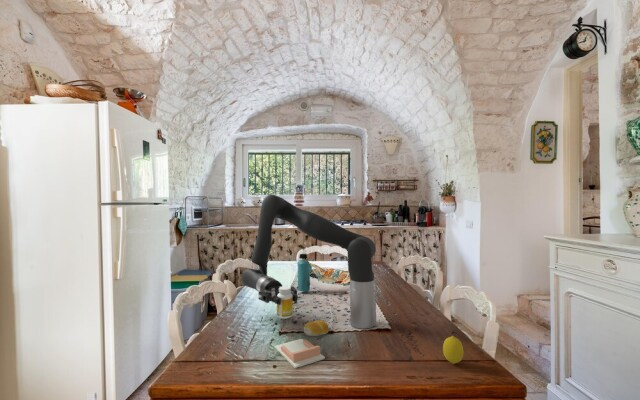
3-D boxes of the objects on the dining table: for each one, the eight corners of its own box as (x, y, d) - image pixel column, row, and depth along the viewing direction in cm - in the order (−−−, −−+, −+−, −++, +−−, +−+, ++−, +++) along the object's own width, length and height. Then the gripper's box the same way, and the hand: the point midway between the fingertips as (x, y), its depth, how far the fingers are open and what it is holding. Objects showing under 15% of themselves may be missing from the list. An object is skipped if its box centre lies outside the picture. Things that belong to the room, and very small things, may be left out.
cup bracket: (274, 347, 103) (274, 338, 103) (301, 340, 108) (301, 331, 108) (295, 368, 90) (295, 357, 90) (324, 358, 95) (324, 348, 95)
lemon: (439, 359, 94) (439, 332, 94) (457, 358, 95) (457, 331, 95) (448, 369, 89) (448, 341, 89) (467, 368, 89) (467, 340, 89)
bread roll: (333, 333, 114) (332, 321, 114) (312, 339, 109) (312, 327, 109) (320, 325, 121) (320, 315, 121) (300, 331, 116) (299, 320, 116)
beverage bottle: (308, 294, 160) (308, 255, 160) (296, 294, 161) (295, 254, 161) (311, 291, 166) (311, 253, 166) (299, 290, 168) (298, 252, 168)
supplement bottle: (273, 317, 106) (273, 288, 106) (282, 311, 111) (282, 284, 111) (287, 320, 104) (287, 291, 104) (295, 314, 109) (295, 286, 109)
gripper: (250, 280, 116) (267, 292, 102) (286, 275, 123) (307, 286, 109) (250, 300, 116) (267, 315, 102) (286, 294, 124) (307, 307, 109)
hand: (288, 300), depth 105 cm, fingers closed on supplement bottle, 5 cm apart
